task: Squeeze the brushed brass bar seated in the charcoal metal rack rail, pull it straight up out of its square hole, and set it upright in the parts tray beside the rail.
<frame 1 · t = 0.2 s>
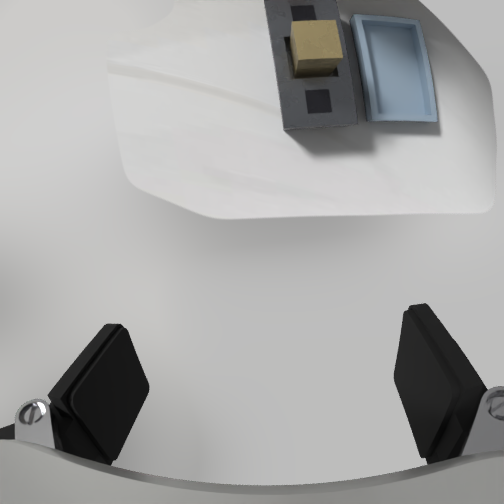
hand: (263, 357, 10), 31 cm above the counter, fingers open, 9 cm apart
brushed brass bar: (309, 62, 30), point 2 cm above the counter, touching rack rail
parts tray: (392, 69, 31), on the counter
rack rail: (307, 66, 32), on the counter
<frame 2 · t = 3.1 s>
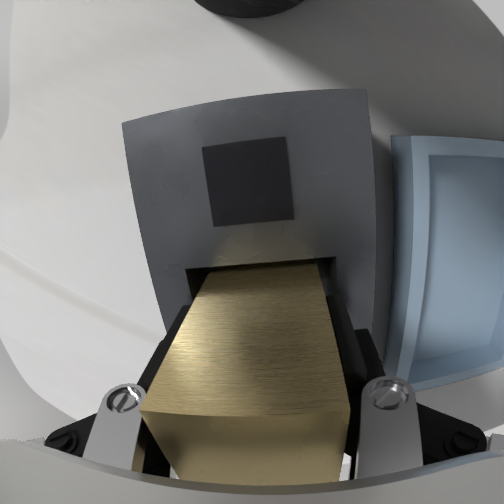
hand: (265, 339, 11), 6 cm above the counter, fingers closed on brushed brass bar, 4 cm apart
brushed brass bar: (269, 290, 14), point 2 cm above the counter, touching gripper
parts tray: (460, 262, 15), on the counter
rack rail: (271, 273, 16), on the counter
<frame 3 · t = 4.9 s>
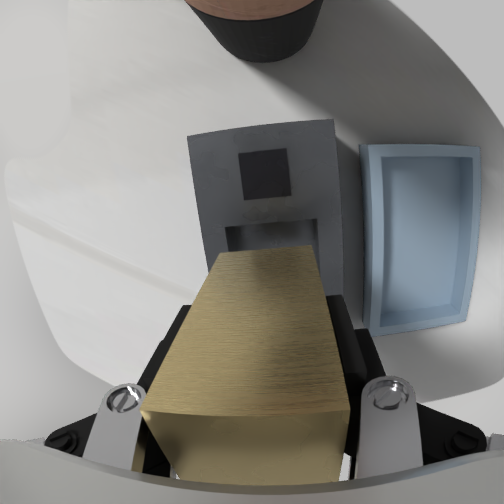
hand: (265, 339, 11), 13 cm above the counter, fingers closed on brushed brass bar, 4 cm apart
brushed brass bar: (269, 290, 14), point 9 cm above the counter, touching gripper
travel mug: (263, 22, 18), on the counter
parts tray: (417, 235, 21), on the counter
rack rail: (276, 240, 23), on the counter
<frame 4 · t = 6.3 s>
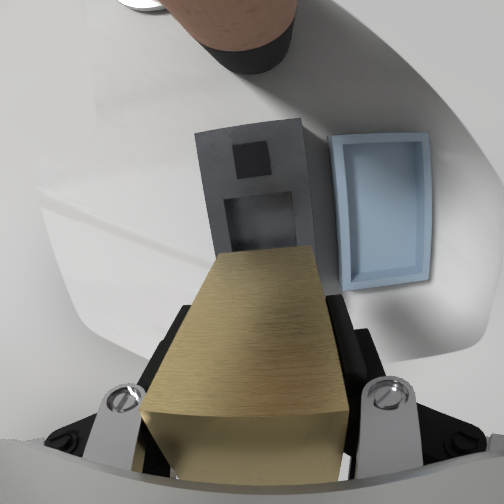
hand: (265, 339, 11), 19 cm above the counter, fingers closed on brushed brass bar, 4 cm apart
brushed brass bar: (269, 290, 14), point 16 cm above the counter, touching gripper
travel mug: (250, 41, 23), on the counter
parts tray: (380, 207, 27), on the counter
rack rail: (264, 213, 29), on the counter
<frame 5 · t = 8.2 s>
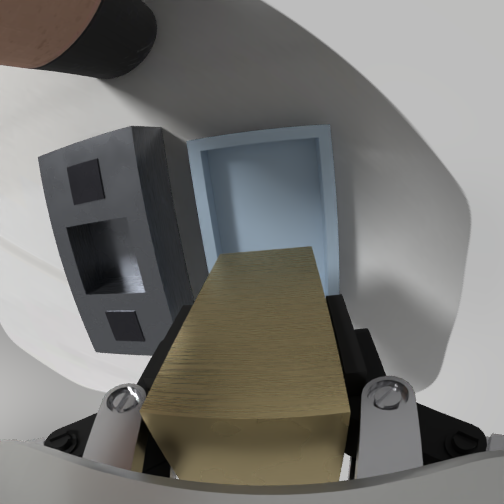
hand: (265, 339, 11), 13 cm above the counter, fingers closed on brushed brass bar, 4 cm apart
brushed brass bar: (269, 291, 14), point 9 cm above the counter, touching gripper
travel mug: (117, 39, 18), on the counter
parts tray: (270, 227, 23), on the counter
rack rail: (133, 236, 24), on the counter
when the fingers open (6 cm above the counter, at t = 9.7 s): brushed brass bar drops 2 cm, resting on parts tray.
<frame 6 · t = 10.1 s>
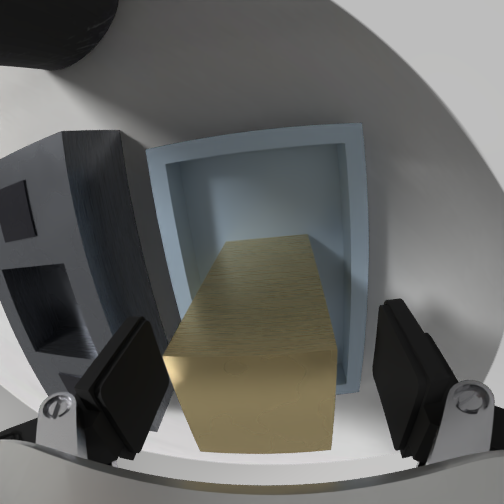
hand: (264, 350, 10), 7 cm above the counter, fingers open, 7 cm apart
brushed brass bar: (270, 275, 16), point 1 cm above the counter, touching parts tray
travel mug: (72, 19, 12), on the counter
parts tray: (271, 270, 16), on the counter
rack rail: (92, 275, 17), on the counter
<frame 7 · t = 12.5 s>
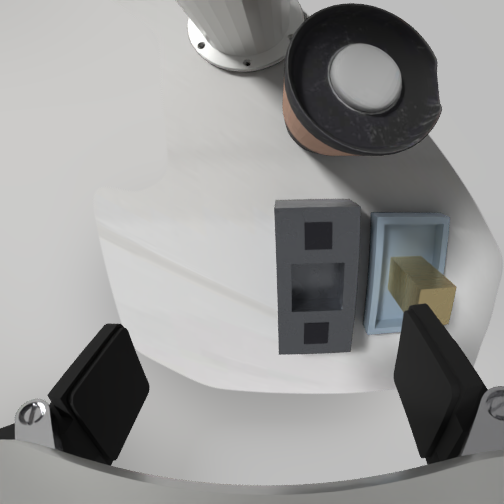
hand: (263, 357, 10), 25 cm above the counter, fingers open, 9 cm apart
brushed brass bar: (404, 272, 33), point 1 cm above the counter, touching parts tray
travel mug: (318, 120, 30), on the counter
parts tray: (402, 270, 34), on the counter
rack rail: (313, 269, 35), on the counter
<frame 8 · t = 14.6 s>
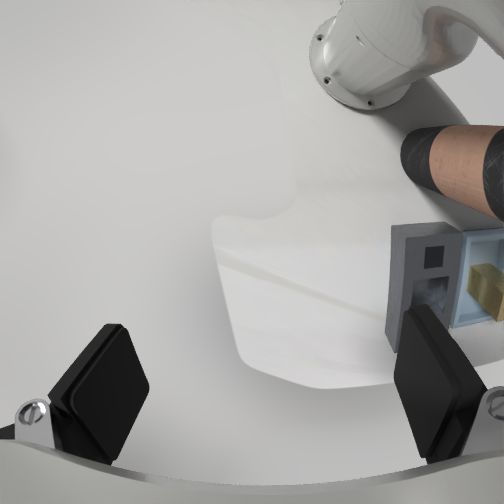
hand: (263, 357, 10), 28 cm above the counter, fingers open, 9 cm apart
brushed brass bar: (478, 276, 36), point 1 cm above the counter, touching parts tray
travel mug: (424, 156, 33), on the counter
parts tray: (476, 274, 37), on the counter
rack rail: (415, 280, 38), on the counter
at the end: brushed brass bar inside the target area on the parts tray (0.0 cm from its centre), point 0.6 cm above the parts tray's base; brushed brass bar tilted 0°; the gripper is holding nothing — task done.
